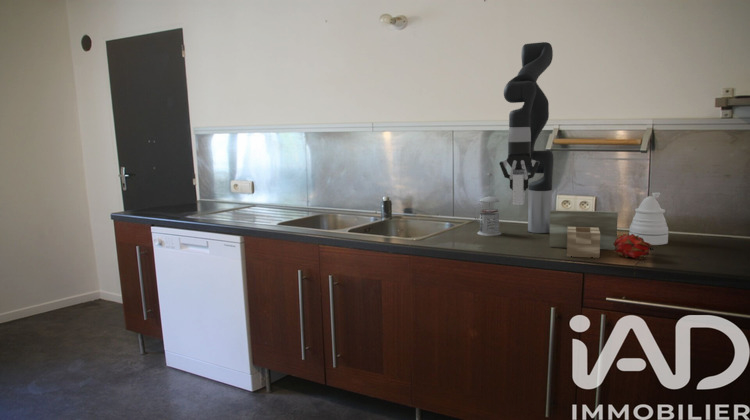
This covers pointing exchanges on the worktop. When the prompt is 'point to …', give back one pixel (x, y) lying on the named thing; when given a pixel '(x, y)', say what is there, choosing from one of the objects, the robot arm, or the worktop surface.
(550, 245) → the small shelf
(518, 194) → the brushed steel bar
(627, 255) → the dragon fruit
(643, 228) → the honey pot
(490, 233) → the french press
